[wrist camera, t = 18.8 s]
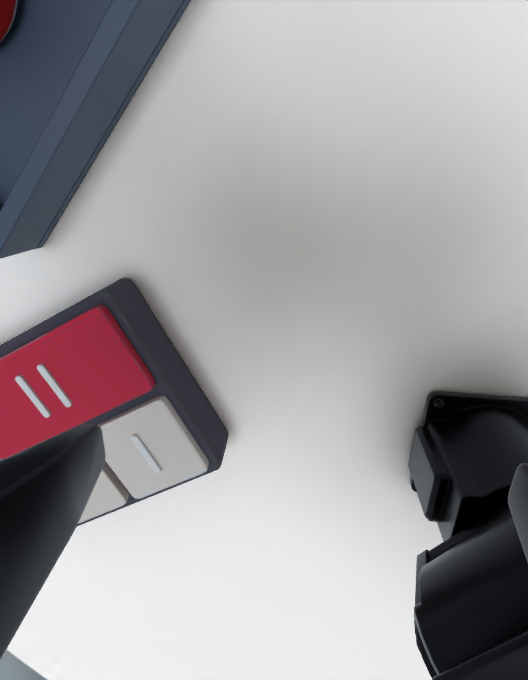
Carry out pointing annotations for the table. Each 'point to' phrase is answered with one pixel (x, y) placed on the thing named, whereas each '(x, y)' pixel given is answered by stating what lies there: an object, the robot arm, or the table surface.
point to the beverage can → (7, 16)
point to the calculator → (110, 397)
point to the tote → (66, 99)
